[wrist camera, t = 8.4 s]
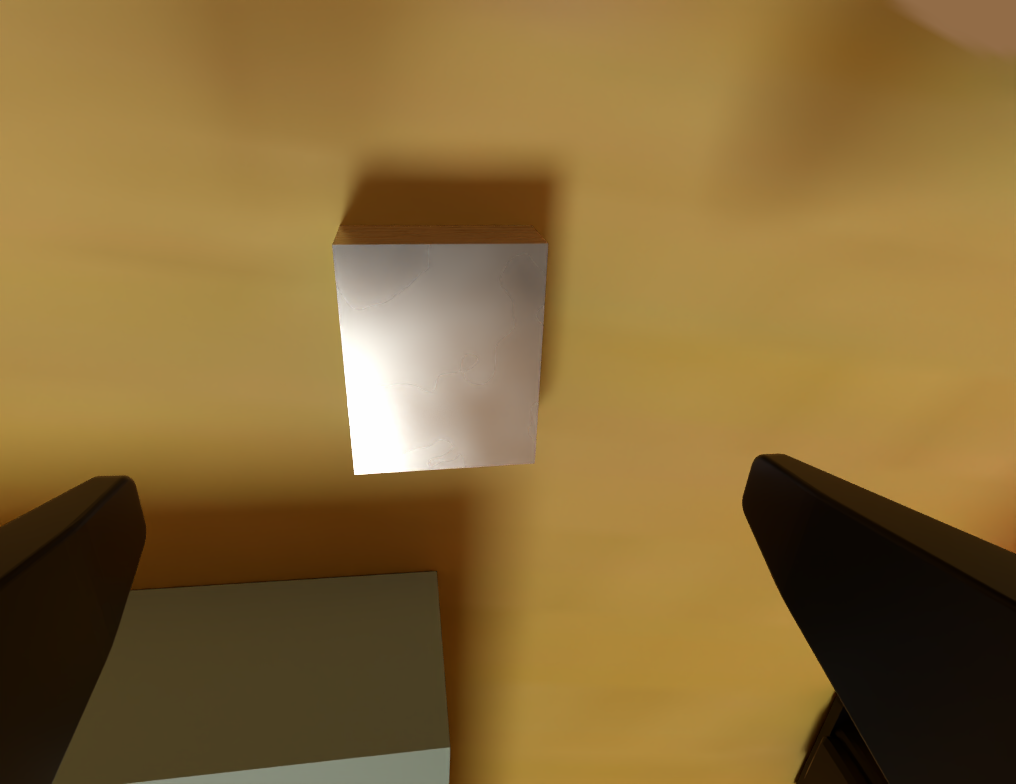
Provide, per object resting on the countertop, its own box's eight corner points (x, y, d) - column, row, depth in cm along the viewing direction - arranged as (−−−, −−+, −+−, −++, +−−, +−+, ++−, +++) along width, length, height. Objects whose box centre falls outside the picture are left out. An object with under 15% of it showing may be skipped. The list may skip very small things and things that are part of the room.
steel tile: (528, 221, 13) (548, 243, 12) (519, 420, 16) (534, 463, 14) (341, 222, 13) (332, 244, 11) (359, 428, 15) (354, 474, 13)
